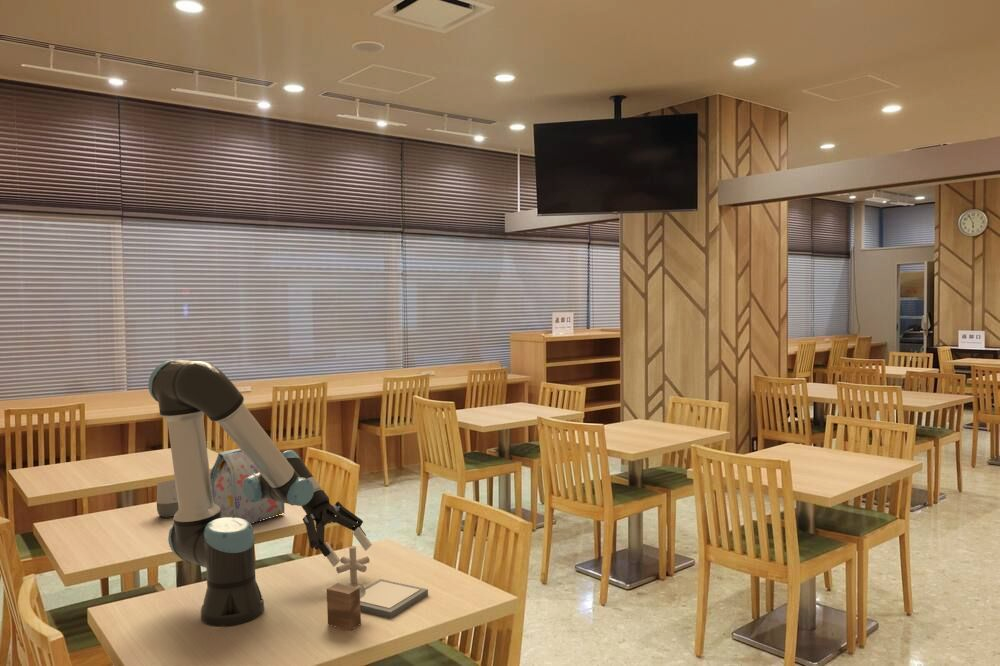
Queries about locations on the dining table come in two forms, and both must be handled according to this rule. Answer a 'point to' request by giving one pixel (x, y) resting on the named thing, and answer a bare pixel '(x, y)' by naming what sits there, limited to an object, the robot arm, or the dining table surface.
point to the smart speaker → (167, 499)
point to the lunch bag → (238, 489)
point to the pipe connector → (353, 564)
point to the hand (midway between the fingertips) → (353, 555)
